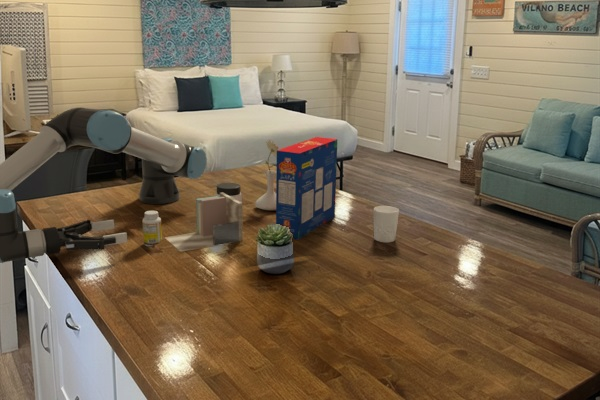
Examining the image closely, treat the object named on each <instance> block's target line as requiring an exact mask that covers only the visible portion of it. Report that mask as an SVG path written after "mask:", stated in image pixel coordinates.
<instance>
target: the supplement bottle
mask: <svg viewBox="0 0 600 400" xmlns="http://www.w3.org/2000/svg"><path fill="white" fill-rule="evenodd" d="M141 225H142V235H143V237H142V239H143V240H142V241H143V244H144V246H146V247H152V248H153V247H155V245H153V244H159V243H161V242H162V241H163V232H162V218H161V217H159V212H158V211H157V210H147V211H145V212H144V217H143V218H142V223H141Z"/></svg>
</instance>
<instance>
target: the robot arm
mask: <svg viewBox="0 0 600 400" xmlns="http://www.w3.org/2000/svg"><path fill="white" fill-rule="evenodd" d="M74 146H84V147H90V148H95V149H97V150H101V151H104V152H107V153H111V154H115V155H116V154H120V153H125V154H126V155H130V156H134V157H137V158H139V159H141V169H142V182H141V185H140V189H139V193H138V200H139V202H141V203H144V204H148V205H164V204H170V203H173V202H177V201H178V200H180V191H179V189H178V186H177V183H176V180H175V176H176V177H179V178H180V177H181V178H186V179H190V180H192V179H193V180H198V179H199V178H201V177H202V175H204V173H205V171H206V167H207V163H208V161H207V160H208V159H207V153H206V151H205V150H204V149H203V148H202V147H199V146H192V145H188V144H186V143H184V142H182V141H179V140H173V138H171V137H165V138H164V137H163V138H160V137H158V136H155V135H153V134H150V133H147V132H146V131H143V130H140V129H138V128H135V127H133V126H132V125H131V123H130V122H129V120H128V119H127V118H126V117H125V116H124V115H123V114H121V113H119V112H116V111H115V110H110V109H105V110H104V109H95V108H87V107H73V108H70V109H67V110H64V111H63V112H61V113H59V114H57V115H56V116H55V117H53V118H52V119H50V120H49V121H47V122H46V123H44V125H42V126H41V127H40V128H39V133H37V135H35V136H34V137H33V138H31V139H30V140H29V141H28V142H27V143H25V144H24V145H23V146H21V147H20V148H19V149H18V150H17V151H14V153H13V154H12V155H10V156H9V157H7V158H5V160H4V161H3V162H1V163H0V263H1V264H3V263H7V262H12V261H13V262H14V261H18V260H19V261H20V260H23V259H30V258H31V259H36V258H37V257H43V256H44V255H47V256H49V255H57V254H60V252H61V248H65V250H66V251H74V250H77V251H79V250H84V251H86V250H101V251H103V250H105V247H106V246H111V245H117V244H124V243H128V235H127V234H128V233H127V232H119V233H113V234H108V235H107V234H106V235H102V237H100V236H86V235H85V234H87V233H89V232H100V231H107V230H114V229H115V220H114V219H107V220H99V221H93V222H92V221H91V220H90V219H87V220H83V221H80V222H76V223H73V224H70V225H66V226H64V227H63V226H62V227H58V228H57V227H55V226H50V227H44V228H43V229H40V228H37V229H36V228H35V229H28V230H23V231H19V227H18V216H17V203H16V201H15V199H16V198H15V195H14V192H13V190H14V189H15V188H16V187H17V186H18V185H20V184H21V183H22V182H24V181H25V180H26V179H27V178H28V177H29V176H31V175H32V174H33V173H34V172H35V171H37V170H38V169H39V168H41V166H42V165H44V164H45V163H46V162H47V161H49V160H50V159H51V158H53V156H55V155H56V154H57V153H58V152H59V153H63V152H65V151H66V150H67V149H68V148H71V147H74Z"/></svg>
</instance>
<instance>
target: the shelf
mask: <svg viewBox="0 0 600 400" xmlns="http://www.w3.org/2000/svg"><path fill="white" fill-rule="evenodd" d="M220 196H221V197H226V221H227V223H231V222H239V241H238V242H242V241H243V239H244V238H243V202H242V203H241V202H239V201H238V200H236V199H234V198H232V197H230V196H229V195H227V194H225V193H223V192H221V193H220ZM164 239H165V240H167V241H168V242H169V243H170V244H171V245H172V246H174V248H175V249H177V250H178V251H179V252H181V253H182V252H183V253H184V252H187V251H193V250H199V249H203V248H210V247H215V246H217V245H213V235H210V236H204V237H203V236H202V235H200V234H199V233H198V232H197V231H196V232H189V233H183V234H177V235H172V236H165V237H164ZM233 243H234V242H232V243H231V244H233ZM226 244H228V243H226ZM226 244H225V245H226ZM222 245H223V244H221V246H222Z"/></svg>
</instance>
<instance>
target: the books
mask: <svg viewBox="0 0 600 400" xmlns="http://www.w3.org/2000/svg"><path fill="white" fill-rule="evenodd" d="M195 202H196V203H195V205H196V207H195V208H196V210H195V211H196V232H198V233H199V234H200V235H202V236H203V237H204V236H210V235H213V225H219V224H225V223H227V221H226V197H221V196H216V195H214V196H209V197H208V196H207V197H202V198H201V197H199V198H196V199H195Z"/></svg>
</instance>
